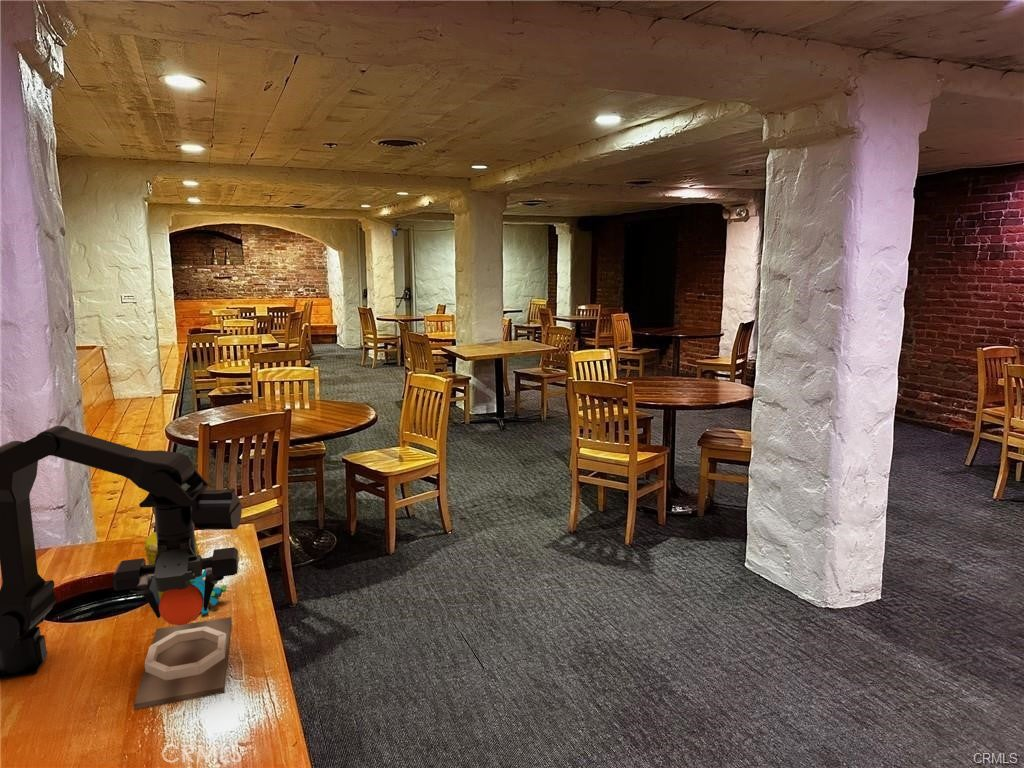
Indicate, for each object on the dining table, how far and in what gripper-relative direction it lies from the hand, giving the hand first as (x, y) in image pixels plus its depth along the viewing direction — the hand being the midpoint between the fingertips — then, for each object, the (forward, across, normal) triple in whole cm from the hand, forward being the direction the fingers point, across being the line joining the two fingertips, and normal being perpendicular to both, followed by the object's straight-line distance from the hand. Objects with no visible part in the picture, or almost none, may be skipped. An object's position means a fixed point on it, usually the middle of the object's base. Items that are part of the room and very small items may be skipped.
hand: (182, 613), depth 115 cm
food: (+10, -4, +25) cm, 27 cm away
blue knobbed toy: (+10, 0, +18) cm, 20 cm away
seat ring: (+9, 0, 0) cm, 9 cm away
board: (+9, 0, 0) cm, 9 cm away
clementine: (+2, 0, 0) cm, 2 cm away
